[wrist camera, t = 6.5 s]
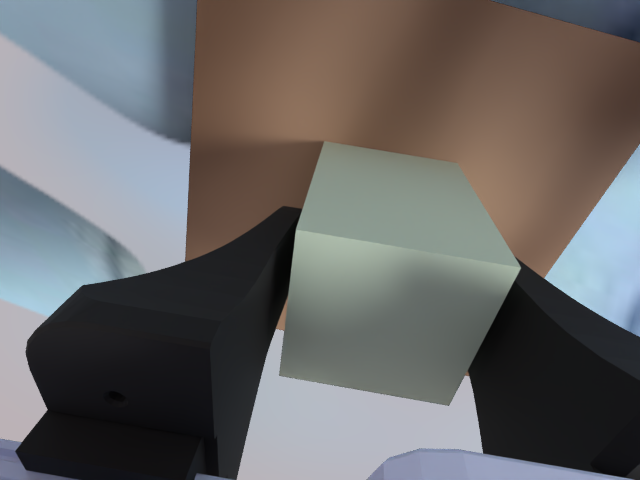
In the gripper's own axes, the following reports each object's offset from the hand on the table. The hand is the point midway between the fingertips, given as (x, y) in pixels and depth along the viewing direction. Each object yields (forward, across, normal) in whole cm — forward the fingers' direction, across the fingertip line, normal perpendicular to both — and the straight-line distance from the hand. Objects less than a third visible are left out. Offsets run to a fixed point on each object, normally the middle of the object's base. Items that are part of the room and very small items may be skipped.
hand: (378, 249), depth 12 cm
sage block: (+2, 0, 0) cm, 2 cm away
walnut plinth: (+4, 0, 0) cm, 4 cm away
